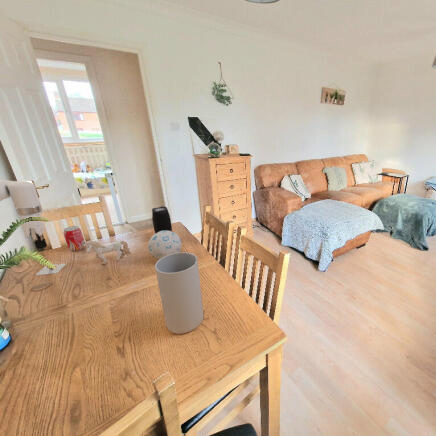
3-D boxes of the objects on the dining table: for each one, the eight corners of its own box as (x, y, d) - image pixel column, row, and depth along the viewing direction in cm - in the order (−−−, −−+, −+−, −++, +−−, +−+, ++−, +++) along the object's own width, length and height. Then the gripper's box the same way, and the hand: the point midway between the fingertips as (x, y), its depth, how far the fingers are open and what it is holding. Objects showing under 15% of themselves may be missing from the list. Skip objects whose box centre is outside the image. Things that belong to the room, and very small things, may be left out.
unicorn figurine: (81, 267, 112) (72, 242, 107) (127, 252, 127) (122, 229, 122) (86, 273, 109) (77, 248, 103) (133, 257, 123) (127, 233, 118)
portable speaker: (172, 241, 140) (167, 210, 133) (154, 243, 137) (148, 211, 130) (174, 235, 148) (169, 205, 140) (157, 236, 145) (151, 206, 137)
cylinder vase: (177, 307, 93) (168, 251, 83) (209, 309, 92) (203, 253, 83) (159, 333, 81) (146, 271, 72) (195, 336, 81) (186, 275, 71)
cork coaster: (28, 288, 98) (28, 287, 98) (47, 280, 103) (47, 279, 103) (35, 292, 96) (34, 292, 95) (54, 284, 101) (53, 284, 100)
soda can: (69, 247, 128) (62, 227, 124) (86, 244, 132) (80, 224, 128) (68, 253, 123) (61, 232, 119) (86, 249, 127) (79, 229, 123)
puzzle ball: (189, 256, 126) (185, 231, 121) (161, 269, 114) (156, 241, 109) (172, 247, 134) (168, 223, 128) (144, 258, 122) (139, 232, 116)
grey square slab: (35, 275, 106) (33, 271, 105) (46, 265, 113) (44, 262, 112) (57, 272, 108) (55, 269, 107) (66, 263, 115) (65, 260, 114)
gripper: (21, 205, 106) (34, 242, 113) (11, 217, 95) (25, 257, 101) (45, 203, 110) (56, 239, 117) (37, 214, 99) (50, 253, 106)
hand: (42, 247), depth 109 cm, fingers closed
